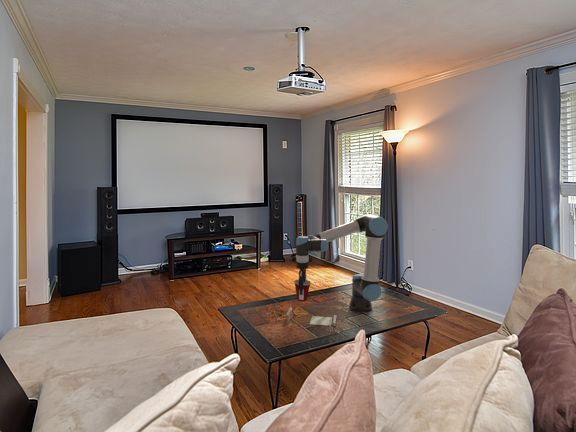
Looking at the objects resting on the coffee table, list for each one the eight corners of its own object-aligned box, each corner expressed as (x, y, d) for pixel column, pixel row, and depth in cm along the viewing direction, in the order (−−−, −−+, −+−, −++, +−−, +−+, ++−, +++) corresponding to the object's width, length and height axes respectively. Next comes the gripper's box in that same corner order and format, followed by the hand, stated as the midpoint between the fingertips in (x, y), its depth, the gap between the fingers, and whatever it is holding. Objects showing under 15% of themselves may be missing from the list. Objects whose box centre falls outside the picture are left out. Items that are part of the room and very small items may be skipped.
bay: (336, 318, 240) (336, 310, 239) (335, 326, 227) (335, 318, 227) (289, 315, 245) (289, 307, 245) (286, 322, 233) (286, 314, 232)
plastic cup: (309, 303, 230) (309, 284, 228) (292, 302, 232) (292, 283, 230) (312, 297, 240) (312, 279, 239) (295, 296, 242) (295, 278, 241)
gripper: (299, 257, 245) (299, 291, 247) (293, 265, 223) (293, 302, 226) (310, 257, 243) (310, 292, 246) (306, 265, 222) (306, 303, 225)
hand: (302, 297), depth 236 cm, fingers closed on plastic cup, 9 cm apart
